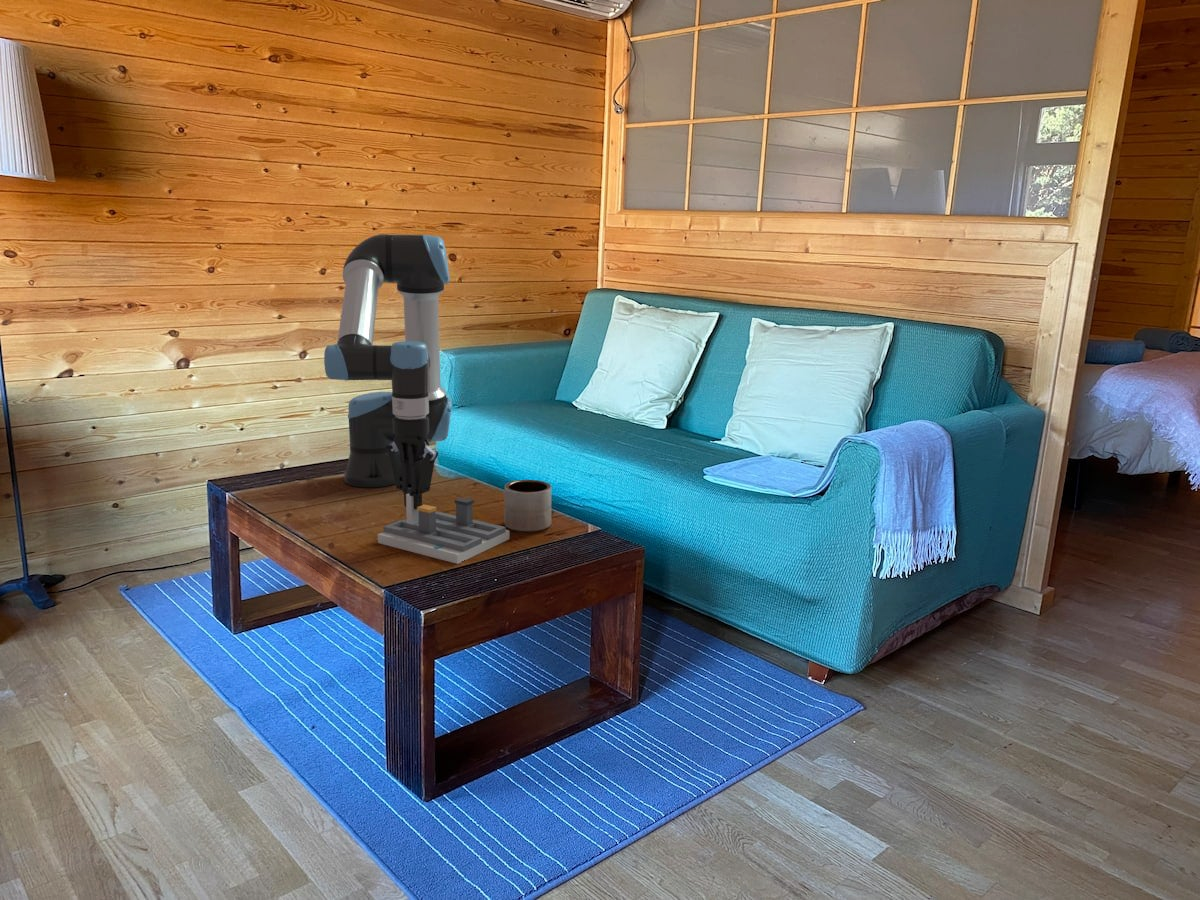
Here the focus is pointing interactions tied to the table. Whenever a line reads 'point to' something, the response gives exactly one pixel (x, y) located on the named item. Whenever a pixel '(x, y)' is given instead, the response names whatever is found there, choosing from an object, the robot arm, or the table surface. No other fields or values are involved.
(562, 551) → the table surface
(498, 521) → the table surface
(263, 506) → the table surface
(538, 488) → the planter
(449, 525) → the console
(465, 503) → the fader
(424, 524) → the fader
